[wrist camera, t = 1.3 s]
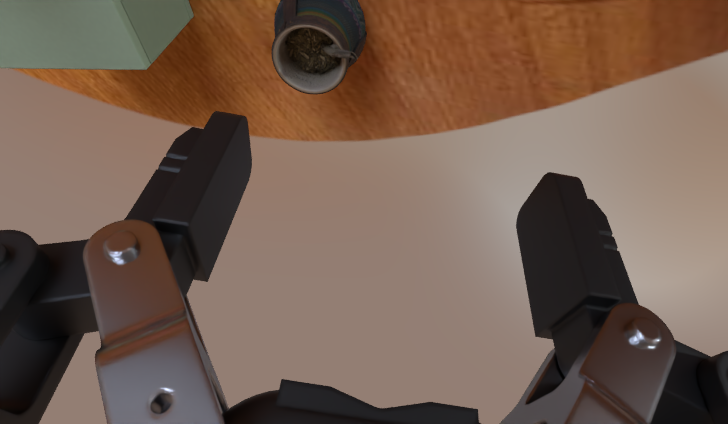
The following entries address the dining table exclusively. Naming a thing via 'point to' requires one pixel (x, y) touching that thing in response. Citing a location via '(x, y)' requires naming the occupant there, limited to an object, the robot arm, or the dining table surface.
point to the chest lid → (68, 35)
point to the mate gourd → (317, 42)
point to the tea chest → (157, 22)
